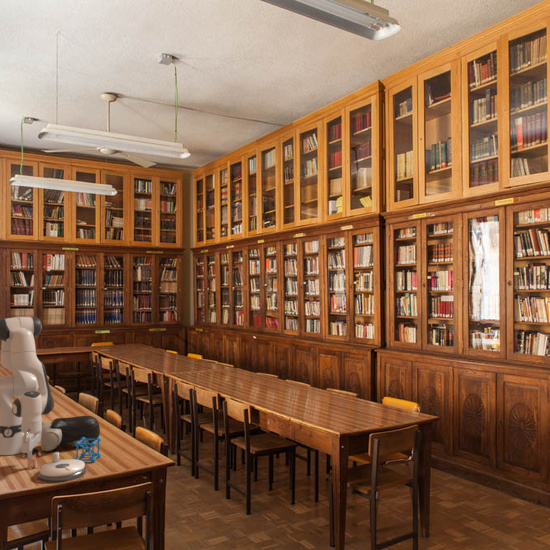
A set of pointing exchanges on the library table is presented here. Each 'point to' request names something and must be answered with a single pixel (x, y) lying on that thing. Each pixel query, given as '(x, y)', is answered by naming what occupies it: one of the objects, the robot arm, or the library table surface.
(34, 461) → the grandmother figurine
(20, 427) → the robot arm
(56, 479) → the turntable base
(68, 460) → the turntable
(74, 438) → the head bust
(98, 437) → the molecular structure
